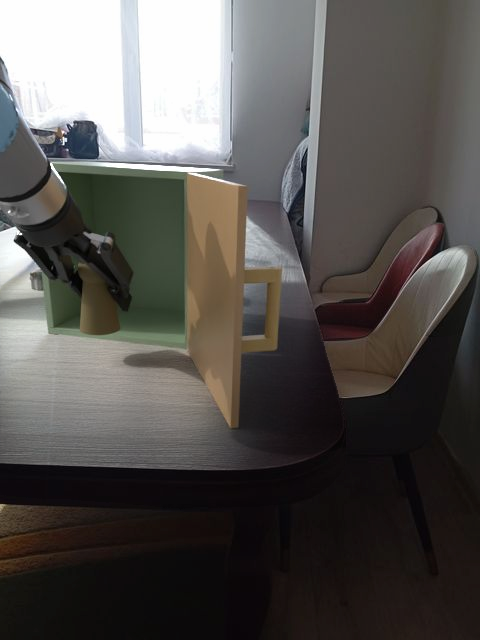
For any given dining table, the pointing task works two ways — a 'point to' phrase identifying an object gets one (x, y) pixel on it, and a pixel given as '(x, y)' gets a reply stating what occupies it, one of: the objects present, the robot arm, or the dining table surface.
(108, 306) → the olive brown pawn
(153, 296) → the cabinet
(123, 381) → the dining table surface
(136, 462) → the dining table surface
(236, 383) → the cabinet door
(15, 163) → the robot arm
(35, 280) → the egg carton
